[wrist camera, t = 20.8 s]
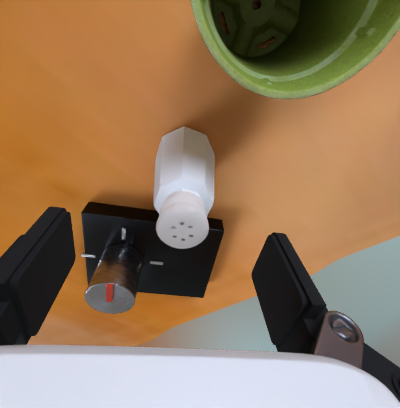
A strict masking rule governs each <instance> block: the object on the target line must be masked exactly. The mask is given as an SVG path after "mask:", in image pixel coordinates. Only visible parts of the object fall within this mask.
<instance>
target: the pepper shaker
mask: <svg viewBox="0 0 400 408" xmlns="http://www.w3.org/2000/svg"><path fill="white" fill-rule="evenodd" d="M214 179H215V154H214V152H213V150H212V147H211V145H210V142H209V140H208V138H207V135H205V134H203V133H200V132H198V131H195V130H192V129H190V128H187V127H185V126H183V127H181V128H179V129H177V130H175V131H172V132H170V133H168V134H166V135H164V136H162V139H161V142H160V145H159V149H158V152H157V155H156V162H155V180H154V199H153V200H154V207H155V209H156V210H157V212H158V213H159V218H158V220H157V223H156V231H157V234H158V236H159V237H160V239H161V240H162V241H163V242H164V243H166V244H167V245H169V246H171V247H174V248H179V249H186V248H191V247H194V246H196V245H198V244H200V243H201V242H202V241H203V240H204V239H205V238H206V236H207V234H208V231H209V224H208V220H207V215H208V213H209V211H210V209H211V207H212V205H213V202H214Z"/></svg>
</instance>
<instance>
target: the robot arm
mask: <svg viewBox="0 0 400 408" xmlns="http://www.w3.org/2000/svg"><path fill="white" fill-rule="evenodd" d="M74 262H75V248H74V240H73V232H72V224H71V216H70V212H66V209H65V208H59V207H49V208H48V209H47V210H46V211H45V212H44V213H43V214H42V215H41V217H40V218H39V219H38V220H37V221H36V222H35V223H34V224H33V226H32V227H31V228H30V229H29V230H28V231H27V232H26V234H25V235H21V236H20V237H19V238H18V239H17V240H16V241H15V242H14V243H13V244H12V245H11V246H10V248H9V249H8V250H7V251H6V252H5V253H4V254H3V255H2V256H1V258H0V408H400V368H399V367H398V366H397V365H395V364H393V363H392V362H391V361H389V360H388V359H387V358H385V357H384V356H382V355H381V354H379V353H378V352H377V351H375V350H374V349H372V348H371V347H370V346H368V345H367V344H365V343H364V338H363V334H362V332H361V330H360V328H359V327H358V326H357V324H356V323H355V322H354V321H353V320H352V319H350V318H349V317H347V316H346V315H345V314H343V313H341V312H337V311H328V310H327V308H326V304H325V302H324V300H323V299H322V297H321V295H320V293H319V292H318V290H317V288H316V286H315V285H314V283H313V281H312V279H311V278H310V276H309V274H308V272H307V271H306V269H305V267H304V265H303V264H302V262H301V260H300V258H299V257H298V255H297V253H296V251H295V250H294V248H293V246H292V244H291V243H290V241H289V239H288V237H287V236H286V234H283V233H272V234H271V235H269V236H268V237H267V239H266V242H265V244H264V246H263V248H262V250H261V253H260V255H259V257H258V259H257V262H256V264H255V266H254V268H253V271H252V280H253V283H254V286H255V289H256V293H257V296H258V299H259V302H260V306H261V309H262V312H263V315H264V319H265V322H266V325H267V328H268V331H269V335H270V338H271V341H272V343H273V344H274V345H276V348H277V351H278V352H268V351H244V350H217V349H216V350H215V349H187V348H156V347H122V346H85V345H27V343H28V341H29V339H30V338H31V336H35V335H36V334H37V333H38V331H39V329H40V327H41V325H42V323H43V322H44V320H45V318H46V316H47V314H48V312H49V310H50V308H51V306H52V304H53V302H54V301H55V299H56V297H57V295H58V293H59V291H60V289H61V287H62V285H63V283H64V281H65V279H66V278H67V276H68V274H69V272H70V270H71V268H72V266H73V264H74Z"/></svg>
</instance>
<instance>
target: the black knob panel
mask: <svg viewBox="0 0 400 408" xmlns="http://www.w3.org/2000/svg"><path fill="white" fill-rule="evenodd" d="M81 214H82V225H83V235H84V246H85V253H82V254H81V255H82V257H86V268H87V279H88V285H89V283H90V281H91V279H92V276H93V274H94V272H95V270H96V267H97V265H98V263H99V261H100V258H101V256H102V254H103V252H104V250H105V249H106V248H108V247H109V246H111V245H115V244H126V245H130V246H132V247H134V248H136V249H137V250H139V251H140V253H141V254H142V256H143V259H144V262H143V267H142V271H141V276H140V280H139V285H138V289H137V292H144V293H155V294H166V295H177V296H189V297H200V298H203V297H204V294H205V291H206V287H207V284H208V281H209V278H210V275H211V271H212V268H213V265H214V262H215V259H216V256H217V252H218V249H219V246H220V243H221V240H222V236H223V233H224V228H223V223H222V220H220V219H212V218H207V220H208V224H209V231H208V234H207V236H206V238H205V239H204V240H203V241H202V242H201V243H200V244H198V245H196V246H194V247H191V248H186V249H179V248H174V247H171V246H169V245H167V244H166V243H164V242H163V241H162V240H161V239H160V237H159V236H158V234H157V231H156V223H157V220H158V218H159V213H158V212H157V211H153V210H146V209H139V208H131V207H124V206H116V205H109V204H102V203H94V202H88V204H87V205H86V207H85V208H84V210H83V211H82V213H81Z"/></svg>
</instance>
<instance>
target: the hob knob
mask: <svg viewBox="0 0 400 408" xmlns="http://www.w3.org/2000/svg"><path fill="white" fill-rule="evenodd" d="M143 262H144V259H143V256H142V254H141V253H140V251H139V250H137V249H136V248H134V247H132V246H130V245H126V244H115V245H111V246H109V247H108V248H106V249H105V250H104V252H103V254H102V256H101V258H100V261H99V263H98V265H97V267H96V270H95V272H94V274H93V276H92V279H91V281H90V283H89V285H88V288H87V290H86V292H85V300H86V302H87V303H88V304H89V305H90V306H91V307H92V308H94V309H96V310H98V311H100V312H104V313H111V314H116V313H122V312H125V311H127V310H129V309H131V308H132V306H133V305H134V302H135V298H136V294H137V289H138V285H139V280H140V276H141V271H142V267H143Z"/></svg>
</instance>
